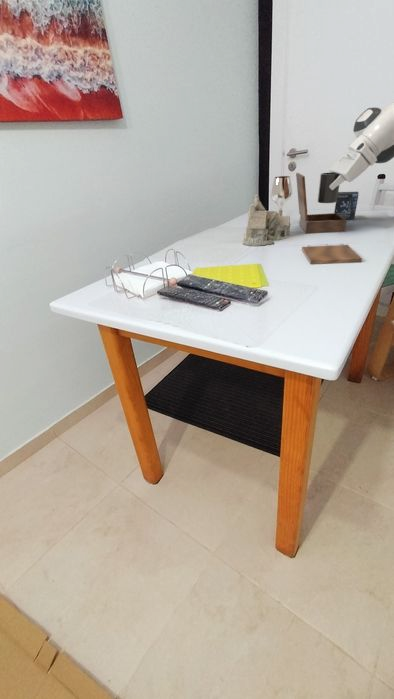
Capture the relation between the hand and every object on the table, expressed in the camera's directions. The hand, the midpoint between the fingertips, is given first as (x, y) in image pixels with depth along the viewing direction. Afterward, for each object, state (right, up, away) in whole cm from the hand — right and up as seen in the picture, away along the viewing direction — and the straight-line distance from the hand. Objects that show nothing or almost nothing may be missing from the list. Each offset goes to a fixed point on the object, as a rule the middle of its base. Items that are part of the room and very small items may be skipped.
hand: (327, 187), depth 118 cm
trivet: (-6, -29, -16) cm, 33 cm away
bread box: (+1, -12, +8) cm, 15 cm away
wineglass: (-12, -7, +18) cm, 23 cm away
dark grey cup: (+1, -4, +3) cm, 5 cm away
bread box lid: (-8, -2, +3) cm, 8 cm away
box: (+14, -5, +19) cm, 24 cm away
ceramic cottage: (-21, -18, +3) cm, 28 cm away
